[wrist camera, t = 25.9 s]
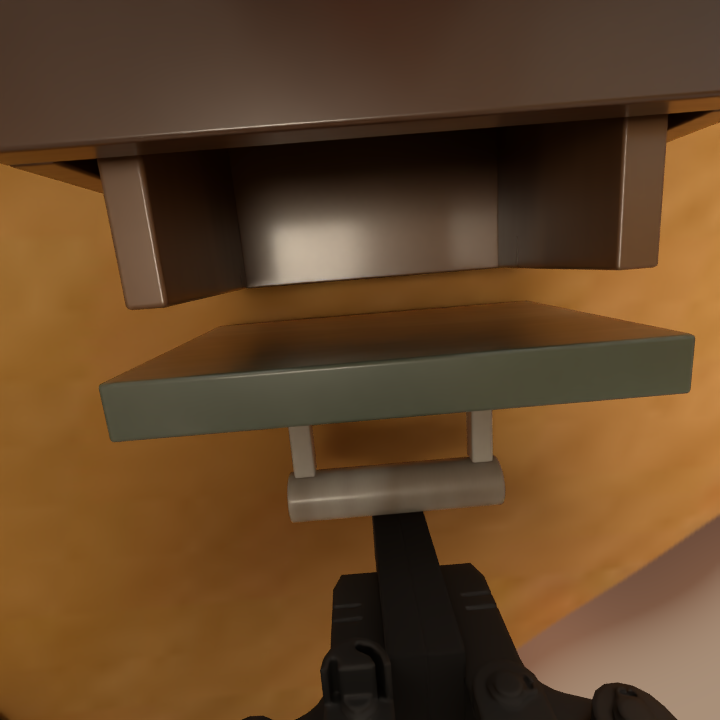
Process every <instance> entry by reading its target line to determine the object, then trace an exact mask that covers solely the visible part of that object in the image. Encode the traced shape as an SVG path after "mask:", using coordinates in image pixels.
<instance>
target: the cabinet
mask: <svg viewBox="0 0 720 720" xmlns="http://www.w3.org/2000/svg"><path fill="white" fill-rule="evenodd" d="M656 114H668V127H667V141H666V143H667V142H669V141H672V140H674V139H677V138H680V137H682V136H685V135H687V134H690V133H693V132H695V131H698V130H701V129H703V128H706V127H708V126H711V125H714V124H716V123H719V122H720V0H0V163H1V164H4V165H10V166H11V167H14V168H17V169H21V170H24V171H28V172H31V173H34V174H38V175H41V176H45V177H48V178H52V179H55V180H59V181H62V182H65V183H69V184H72V185H76V186H79V187H83V188H86V189H89V190H93V191H96V192H100V193H103V188H102V183H101V178H100V173H99V168H98V163H97V158H108V157H121V156H133V155H146V154H159V153H172V152H184V151H197V150H210V149H223V148H235V147H248V146H261V145H274V144H286V143H299V142H312V141H325V140H338V139H350V138H363V137H376V136H389V135H401V134H414V133H427V132H440V131H452V130H465V129H478V128H491V127H503V126H516V125H529V124H542V123H554V122H567V121H580V120H593V119H605V118H618V117H631V116H644V115H656ZM103 194H104V193H103Z"/></svg>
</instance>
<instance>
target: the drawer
mask: <svg viewBox="0 0 720 720" xmlns="http://www.w3.org/2000/svg"><path fill="white" fill-rule="evenodd" d="M667 127H668V114H656V115H644V116H631V117H618V118H605V119H593V120H580V121H567V122H554V123H542V124H529V125H516V126H503V127H491V128H478V129H465V130H452V131H440V132H427V133H414V134H401V135H389V136H376V137H363V138H350V139H338V140H325V141H312V142H299V143H286V144H274V145H261V146H248V147H235V148H223V149H210V150H197V151H184V152H172V153H159V154H146V155H133V156H121V157H108V158H97V163H98V168H99V173H100V178H101V183H102V188H103V193H104V198H105V203H106V208H107V213H108V218H109V223H110V228H111V233H112V238H113V243H114V248H115V253H116V258H117V263H118V268H119V273H120V278H121V283H122V288H123V293H124V298H125V303H126V307H127V308H128V309H130V310H140V309H152V308H164V307H169V306H173V305H177V304H182V303H186V302H190V301H195V300H199V299H203V298H207V297H212V296H216V295H220V294H224V293H229V292H233V291H237V290H241V289H246V288H258V287H270V286H283V285H295V284H307V283H319V282H331V281H344V280H356V279H368V278H380V277H392V276H405V275H417V274H429V273H441V272H454V271H466V270H478V269H490V268H535V269H582V270H628V269H640V268H652V267H655V266H657V264H658V252H659V238H660V224H661V210H662V196H663V182H664V168H665V154H666V141H667ZM694 346H695V337H694V335H692V334H689V333H684V332H679V331H674V330H669V329H664V328H659V327H654V326H649V325H644V324H639V323H634V322H629V321H624V320H619V319H614V318H609V317H604V316H600V315H595V314H590V313H585V312H580V311H575V310H570V309H565V308H560V307H555V306H550V305H545V304H540V303H535V302H530V301H519V302H507V303H495V304H483V305H471V306H459V307H447V308H434V309H422V310H410V311H398V312H386V313H374V314H362V315H350V316H338V317H326V318H314V319H302V320H289V321H277V322H265V323H253V324H241V325H229V326H220V327H218V328H216V329H213V330H211V331H209V332H207V333H205V334H203V335H201V336H199V337H197V338H195V339H193V340H191V341H189V342H187V343H185V344H183V345H180V346H178V347H176V348H174V349H172V350H170V351H168V352H166V353H164V354H162V355H160V356H158V357H156V358H154V359H152V360H150V361H147V362H145V363H143V364H141V365H139V366H137V367H135V368H133V369H131V370H129V371H127V372H125V373H123V374H121V375H119V376H117V377H114V378H112V379H110V380H108V381H106V382H104V383H102V384H100V386H99V391H100V396H101V400H102V405H103V409H104V414H105V418H106V423H107V427H108V432H109V436H110V440H111V441H112V442H122V441H133V440H145V439H157V438H169V437H180V436H192V435H204V434H215V433H227V432H239V431H251V430H262V429H274V428H286V427H288V429H289V437H290V445H291V453H292V461H293V469H294V472H291V473H290V475H289V478H288V487H287V499H288V510H289V516H290V519H291V521H292V522H293V523H296V522H307V521H318V520H330V519H341V518H353V517H364V516H375V515H387V514H398V513H409V512H421V511H432V510H444V509H455V508H466V507H478V506H489V505H500V504H502V503H503V502H504V499H505V481H504V475H503V471H502V468H501V465H500V463H499V461H498V459H497V457H496V456H494V455H493V435H492V410H496V409H508V408H520V407H531V406H543V405H555V404H567V403H578V402H590V401H602V400H613V399H625V398H637V397H649V396H660V395H672V394H684V393H688V392H689V391H690V388H691V377H692V367H693V356H694ZM461 412H466V425H467V454H468V456H469V457H460V458H448V459H436V460H425V461H413V462H402V463H390V464H379V465H367V466H356V467H344V468H332V469H321V470H316V468H317V464H316V455H315V446H314V437H313V428H312V425H321V424H332V423H344V422H356V421H368V420H379V419H391V418H403V417H414V416H426V415H438V414H450V413H461Z"/></svg>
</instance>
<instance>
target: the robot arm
mask: <svg viewBox="0 0 720 720" xmlns="http://www.w3.org/2000/svg"><path fill="white" fill-rule="evenodd" d="M372 522H373V535H374V548H375V560H376V571H377V572H372V573H360V574H348V575H341V577H340V579H339V580H338V582H337V584H336V586H335V588H334V589H333V610H332V629H331V649H330V650H329V652H328V653H327V654H326V656H325V657H324V659H323V662H322V666H321V670H320V673H321V681H322V690H323V697H322V699H321V700H320V701H319V703H318V704H317V705H316V706H315V707H314V708H313V709H312V710H311V711H310V712H308V713H307V714H305V715H303V716H302V717H300V718H298V719H296V720H677V719H676V718H675V717H674V716H673V715H672V714H671V713H670V712H669V711H668V710H667V709H666V708H665V706H663V705H662V704H661V703H660V702H658V701H657V700H656V699H655V698H654V697H652V696H651V695H650V694H648V693H646V692H644V691H642V690H640V689H638V688H636V687H634V686H631V685H627V684H622V683H610V684H604V685H602V686H601V687H600V688H598V689H597V690H596V691H595V693H594V696H593V699H588V698H584V697H579V696H574V695H570V694H566V693H563V692H560V691H556V690H554V689H552V688H550V687H548V686H546V685H544V684H542V683H541V682H540V681H538V680H537V678H536V677H535V675H534V674H533V673H532V672H531V671H529V670H528V669H527V668H526V667H524V665H523V663H522V661H521V660H520V658H519V655H518V653H517V651H516V648H515V646H514V644H513V642H512V639H511V637H510V635H509V632H508V630H507V628H506V626H505V623H504V621H503V619H502V616H501V614H500V612H499V610H498V608H497V606H496V603H495V600H494V598H493V596H492V595H491V591H490V589H489V587H488V584H487V582H486V580H485V577H484V576H483V575H482V574H481V573H480V572H479V571H478V570H477V569H476V568H475V567H474V566H473V565H472V564H471V563H464V564H452V565H439V562H438V559H437V556H436V552H435V549H434V546H433V542H432V539H431V536H430V533H429V529H428V526H427V523H426V519H425V516H424V513H423V511H421V512H409V513H398V514H387V515H375V516H372ZM242 720H272V719H270V718H267V717H265V716H249V717H247V718H245V719H242Z"/></svg>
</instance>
